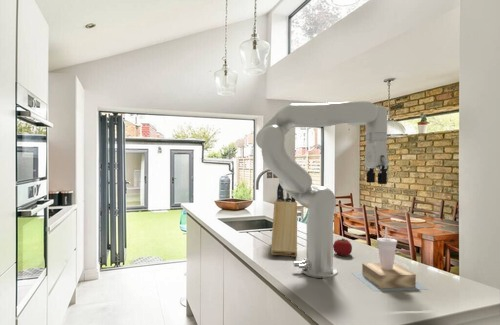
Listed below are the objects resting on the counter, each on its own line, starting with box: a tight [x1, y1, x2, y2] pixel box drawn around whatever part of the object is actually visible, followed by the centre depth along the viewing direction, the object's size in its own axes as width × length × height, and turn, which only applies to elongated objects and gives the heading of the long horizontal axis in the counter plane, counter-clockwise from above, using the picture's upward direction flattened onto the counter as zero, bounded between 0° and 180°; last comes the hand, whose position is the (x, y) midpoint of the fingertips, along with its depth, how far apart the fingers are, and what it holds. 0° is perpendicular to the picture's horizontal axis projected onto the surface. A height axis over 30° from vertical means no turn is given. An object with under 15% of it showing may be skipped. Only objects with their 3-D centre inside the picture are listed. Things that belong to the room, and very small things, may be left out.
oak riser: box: [361, 262, 417, 288], centre depth 104 cm, size 12×12×4 cm
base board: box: [351, 272, 428, 292], centre depth 104 cm, size 18×16×1 cm
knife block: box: [270, 182, 298, 257], centre depth 147 cm, size 11×35×31 cm, turn 172°
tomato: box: [333, 238, 353, 257], centre depth 137 cm, size 8×8×7 cm
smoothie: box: [376, 226, 398, 270], centre depth 104 cm, size 6×6×14 cm
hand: (376, 183), depth 118 cm, fingers open, 9 cm apart
